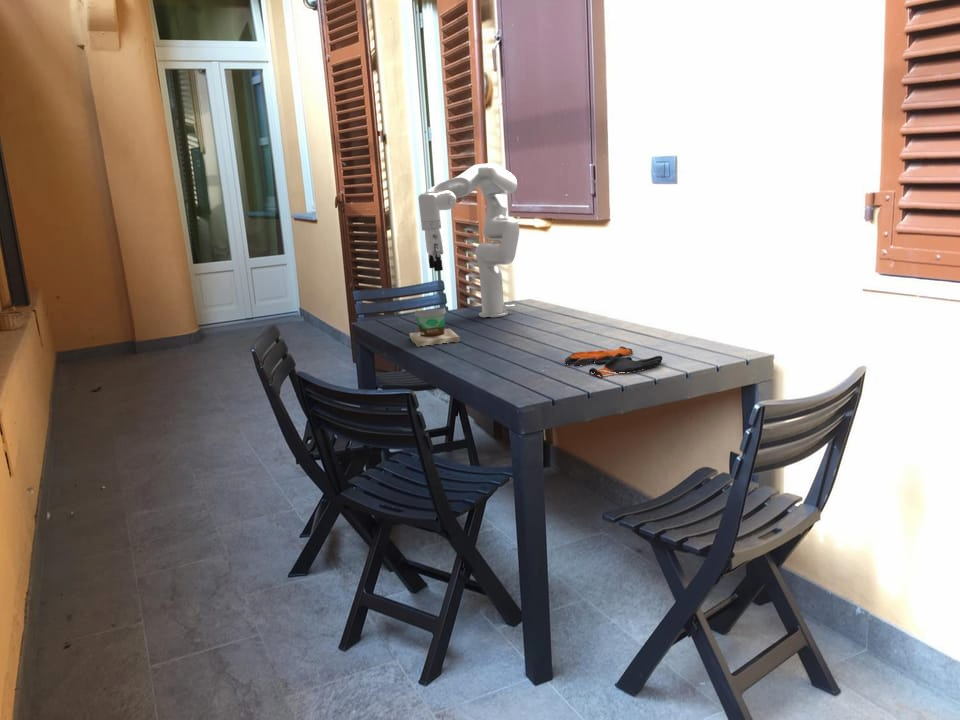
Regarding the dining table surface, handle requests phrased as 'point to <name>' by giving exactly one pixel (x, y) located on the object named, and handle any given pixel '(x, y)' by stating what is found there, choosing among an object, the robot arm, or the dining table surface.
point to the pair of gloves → (612, 361)
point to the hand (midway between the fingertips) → (436, 269)
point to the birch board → (434, 338)
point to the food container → (431, 322)
